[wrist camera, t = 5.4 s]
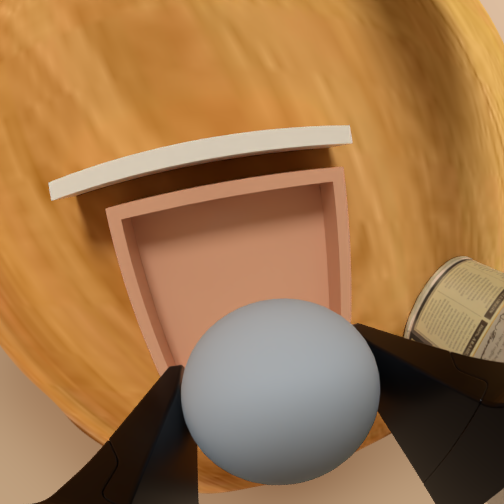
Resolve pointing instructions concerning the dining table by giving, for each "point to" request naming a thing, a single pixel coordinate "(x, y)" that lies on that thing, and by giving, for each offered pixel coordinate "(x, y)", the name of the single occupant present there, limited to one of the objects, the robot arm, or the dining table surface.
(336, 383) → the ball
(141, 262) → the dish
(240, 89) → the dining table surface
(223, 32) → the dining table surface
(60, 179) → the wall
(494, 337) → the coffee can
